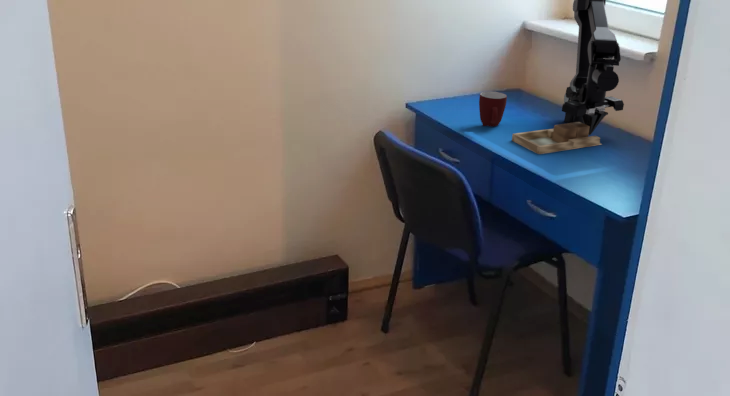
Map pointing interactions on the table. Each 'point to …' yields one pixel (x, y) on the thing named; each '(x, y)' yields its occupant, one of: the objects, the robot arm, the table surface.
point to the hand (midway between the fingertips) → (588, 134)
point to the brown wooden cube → (564, 133)
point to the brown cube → (580, 129)
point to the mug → (492, 107)
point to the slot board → (551, 141)
